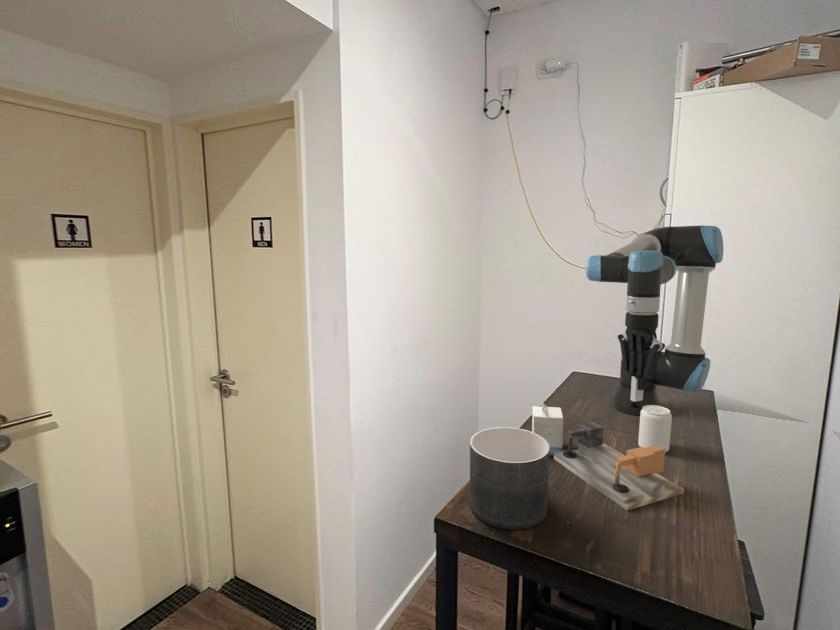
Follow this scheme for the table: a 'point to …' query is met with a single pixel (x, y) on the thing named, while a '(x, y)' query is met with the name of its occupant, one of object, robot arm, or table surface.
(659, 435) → the beverage can
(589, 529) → the table surface
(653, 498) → the board
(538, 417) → the ink box
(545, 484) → the planter
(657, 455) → the block
